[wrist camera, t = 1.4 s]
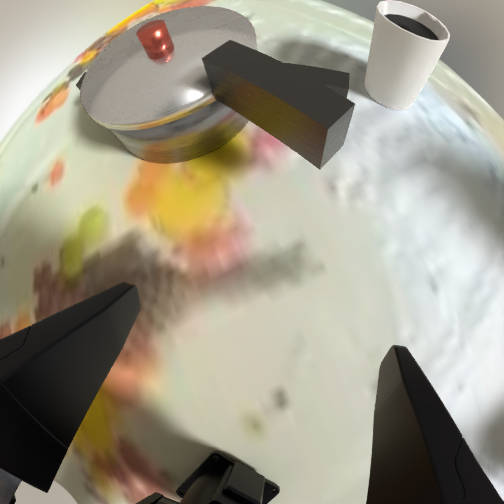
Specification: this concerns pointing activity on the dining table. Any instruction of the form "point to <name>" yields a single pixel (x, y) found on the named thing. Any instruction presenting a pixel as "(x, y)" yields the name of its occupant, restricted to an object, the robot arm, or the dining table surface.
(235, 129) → the pot
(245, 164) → the dining table surface
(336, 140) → the lid
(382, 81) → the white cup
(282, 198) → the dining table surface
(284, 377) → the dining table surface
